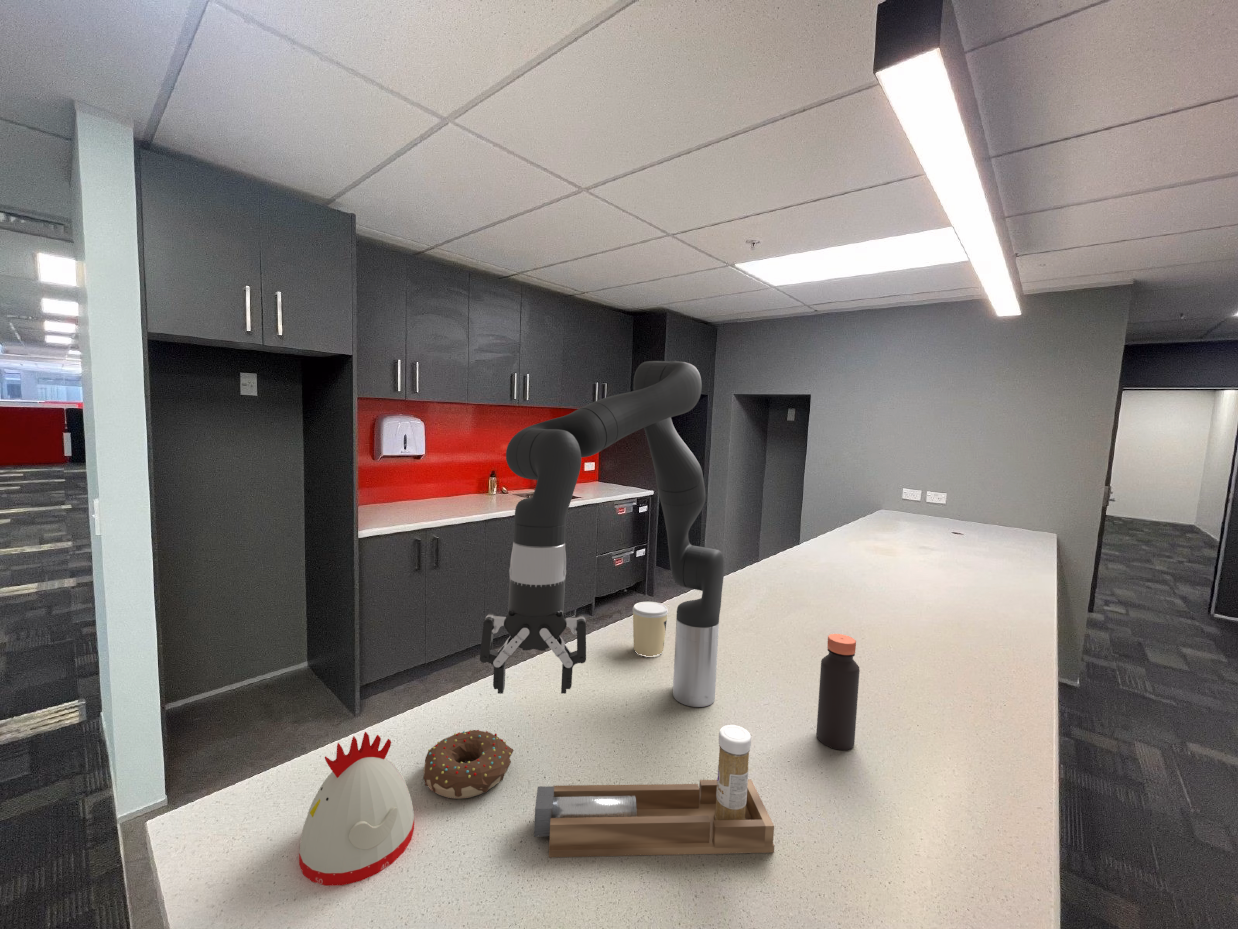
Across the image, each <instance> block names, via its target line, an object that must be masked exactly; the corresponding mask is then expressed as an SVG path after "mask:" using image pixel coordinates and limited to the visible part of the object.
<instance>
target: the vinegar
mask: <svg viewBox="0 0 1238 929" xmlns="http://www.w3.org/2000/svg"><path fill="white" fill-rule="evenodd" d="M856 645H857V640H856V639H855V638H853V637H851V636H849V635H846V634H842V633H831V634H829V635H827V647H826V648H827V651H828V654H827V655H825V656H824V657H823V658H822V659H821V661H820V671H819V673H820V674H819V688H818V690H819V691H818V704H817V718H816V737H817V739H818V740H819V741H820V742H821V744H823V745H824V746H826V747H828V748H830V749H834V750H837V751H848V750H850V749H852V748H853V747H854V745H855V743H856V741H855V740H856V728H857V715H858V714H857V713H858V712H857V711H858V698H859V696H858V695H859V683H860V666H859V664H858V663H857V662H856V661H855V660H854V657H855V655H856V649H857V648H856Z"/></svg>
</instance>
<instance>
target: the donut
mask: <svg viewBox="0 0 1238 929" xmlns="http://www.w3.org/2000/svg"><path fill="white" fill-rule="evenodd" d="M514 751H515V750H514V749H513V748H512V747H511V746H509V745H508V744H507V741H505V740H503V739H502V738H500V737H498V734H497V733H495V734H493V733H491V732H490V731H489V730H488V731H487V730H486V731H483V730H479V729H477V730H476V729H473V730H467V731H462V732H460V731H459V732H457V733H456V732H455V733H454V734H452V735H451V736H448V737H446V738H443V739H442V740H440V741H437V743H436V744H435V745H434V746H432V747H431V748H429V749H428V751H427V753H426V756H425V759H424V767H423V769H422V770H423V771H422V772H423V778H422V779H423V780H424V786H425V787H428V788H429V789H430V791H433V793H435V794H438V795H439V796H440V797H441V796H442V797H443V798H444V797H445V798H449V799H459V800H460V799H469V798H470V799H471V798H473V797H477V796H479V795H482V794H484V793H487V792H488V791H489V790H491V789H492V788H493V787H495V786H496V785H497V784H498V783H501V782H502V781H503V780H504V777H505V775H506V773H507V772H508V770H509V767H510V765H511V763H512V761H511V756H512V755H513V753H514Z"/></svg>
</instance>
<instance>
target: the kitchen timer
mask: <svg viewBox="0 0 1238 929" xmlns="http://www.w3.org/2000/svg"><path fill="white" fill-rule="evenodd" d="M381 739H382V738H381V737H380V735H379V734H377V735H376V736H375V737H374V739H373V742H372V743H371V741H370V736H369V733H368V732H367V731H364V733H363V736H362V740H361V745H360V748H359V746H358V745H359V744H358V740H357V738H356V737H355V735H353V736H352V738H351V742H350V747H349V751H348V753H347V754H345V751H344V749H343V747H342V745H341V744H340V743H339V742H337V745H336V754H335V755H336V757H335V759H334V760H332V759H330V758H329V757H327V756H324V760H325V762H326V764H327V765H328V768H329V769H330V770H331V772H330V774H329V775H328V776H327V777H326V778H325V780H324V781H323V782H322V784H321V785H320V787H319V789H318V790H317V793H316V795H315V796H314V798H313V800H312V802H311V805H310V806H309V810H308V813H307V815H306V817H305V821H304V824H303V827H302V831H301V836H300V843H299V852H298V855H299V856H298V858H299V860H298V863H299V867H300V870H301V873H302V875H303V876H304V877H305V878H307V879H308V880H309V881H310V882H312V883H315V884H318V885H322V886H345V885H349V884H353V883H359V882H362V881H364V880H366V879H368V878H370V877H373V876H375V875H378V874H379V873H381V872H382V871H383V870H385V869H387V868H388V867H389V866H390V865H393V863H394V862H396V860H398V859H399V858H400V857H401V855H403V854H404V852H405V851H406V849H407V848H408V846H409V844H410V843H411V841H412V838H413V834H414V831H415V812H414V807H413V802H412V796H411V794H410V791H409V787H408V786H407V782H406V780H405V778H404V776H403V774H402V773H401V771H399V769H398V767H397V766H396V765H395V764H394V763H393V762H392V761H391V760H390V759H388V758H386V757H387V755H388V754H389V750H390V748H391V746H392V741H391V739H390V738H387V740H386V742H385V743H384V745H383V746H382V748H381V749H380V750H379V748H380V744H381Z"/></svg>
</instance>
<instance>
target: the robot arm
mask: <svg viewBox="0 0 1238 929" xmlns="http://www.w3.org/2000/svg"><path fill="white" fill-rule="evenodd" d="M702 383H703V382H702V378H701V374H700V372H699V370H698V369H697V367H696V366H695V365H693V364H691V363H689V362H686V361H678V360H677V361H676V360H675V361H673V360H672V361H670V360H665V361H664V360H650V361H649V360H648V361H644V362H642V363H640V364H639V365H638V367H637V368H636V370H635V373H634V377H633V390H632V391H628V392H623V393H620V394H615V395H610V396H606V397H604V398H600V399H597V400H595V401H593V402H591V403H588V404H586V405H585V406H581V407H579V408H578V409H576V410H573V412H571V413H569V414H565V415H564V416H560V417H556V418H552V419H551V418H550V419H548V420H544V421H541V422H538V423H535V424H532V425H529V426H526V427H525V428H522V429H521V430H520V431H518V432H517V433H515V434H514V436H512V438H511V439H510V440H509V442H508V444H507V446H506V449H505V450H506V451H505V460H506V463H507V466H508V467H509V469H510V470H511V471H512V472H513V473H514V474H515V475H516V476H518V477H520V478H523V479H525V480H532V481H537V482H536V485H535V489H534V492H533V495H532V497H527V498H523V499H521V500H519V501H518V503H517V504H516V506H515V509H514V519H513V520H514V521H513V541H512V542H513V543H512V550H511V555H510V566H509V568H508V570H509V571H508V574H509V588H508V589H509V590H508V606H507V607H508V611H507V614H506V616H498V615H495V614H494V613H493V612H489V613H487V614H486V617H485V618H484V621H483V623H482V625H483V626H482V635H481V644H480V651H479V652H480V653H479V661H480V662H481V663H483V664H484V663H485V664H486V663H487V664H491V665H492V666H493V675H492V676H493V677H492V678H493V679H492V680H493V681H492V686H493V689H494V690H497V694H504V691H505V687H506V667H507V666H506V664H507V660H508V659H509V657H511V656H512V655H513V654H514V652H516V650H517V649H518V648H520V649H522V651H532V650H535V651H536V650H537V651H542V652H545V651H547V649H551V651H552V653H553V654H554V655H555V657H557V658H558V659H559V661H560V662H561V664H562V667H561V668H562V669H561V687H560V693H561V695H562V694H567V690H571V688H572V687H573V686H572V685H573V682H572V681H573V668H574V666H576V665H578V664H584V663H586V661H587V622H586V616H585V615H584V614H579V615H577V617H566V615H565V612H564V611H565V595H566V594H565V591H566V590H565V589H566V575H567V552H566V535H567V533H566V532H567V515H568V510H569V507H570V505H571V502H572V498H573V495H574V492H575V488H576V486H577V482H578V479H579V476H580V473H581V472H580V471H581V468H582V458H588V457H591V456H594V455H596V454H598V453H600V452H602V451H603V450H604V449H607V448H609V447H610V446H612V445H613V444H615V443H616V442H618V441H620V440H622V439H623V438H625V437H627V436H629V435H631V434H633V433H636V432H637V431H639V430H641V429H643V430H644V433H645V437H646V439H647V443H648V447H649V452H650V455H651V460H652V464H653V469H654V474H655V480H656V481H655V482H656V486H657V491H658V497H659V501H660V505H661V509H662V514H663V519H664V523H665V529H666V536H667V538H666V539H667V545H668V547H667V548H668V557H669V565H670V573H671V576H672V579H673V581H674V583H675V584H676V585H677V586H679V587H682V588H686V589H691V590H695V591H700V592H701V591H702V592H701V598H700V597H699V598H698V599H692V600H690V599H689V600H686V601H683V602H681V603H679V604H678V606H677V608H676V615H675V616H676V618H675V619H676V620H675V641H674V643H675V644H674V659H673V660H674V661H673V662H674V664H673V681H672V682H673V683H672V697H673V698H674V699H675V700H676V701H677V702H679V703H680V704H682V705H685V706H688V707H693V708H704V707H708V706H710V705H712V704H713V703H714V702H715V700H716V685H717V666H718V650H719V649H718V647H719V631H720V630H719V629H720V614H721V607H722V595H723V594H722V593H723V586H724V577H725V563H726V562H725V557H724V554H723V552H722V551H721V550H720V549H716V548H710V547H704V546H697V545H692V544H691V543H690V540H689V539H690V538H689V531H690V529H691V527H692V525H693V524H694V523H695V521H696V520H697V518H698V516H699V515H700V513H701V512H702V510H703V507H704V505H705V502H706V487H705V481H704V480H705V479H704V475H703V470H702V466H701V465H700V463H699V461H698V460H697V458H696V456H695V455H694V453H693V452H692V451H691V450H690V448H689V447H688V445H687V444H686V443H685V442H684V440H683V439H682V437H681V436H680V435H679V433H678V432H677V430H676V428H675V426H674V424H673V419H672V418H674V417H676V416H680V415H683V414H686V413H688V412H690V411H692V410H693V409H694V408H695V407H696V406H697V404H698V402H699V400H700V398H701V394H702ZM501 627H503V628H504V629H505V630H506V632H507V633H508V635H509V637H508V638H507V639H506V641H505V642H504V644H503V645H501V647H500V648H499V649H498V651H496V650H495V649H493V643H494V634H497V633H498V632H499V630H500V628H501ZM567 627H568V628H569V629H570V632H571V633H572V635H575V636H576V650H574V651H571V650H570V649H569V647H568V646H567V645H566V643H565V640H564V639H563V638H562V637H561V635H562V633H563V632H564V631H565V630H566V629H567Z"/></svg>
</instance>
